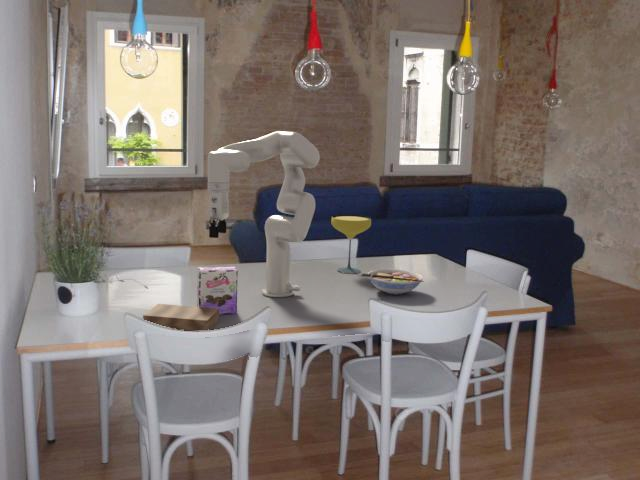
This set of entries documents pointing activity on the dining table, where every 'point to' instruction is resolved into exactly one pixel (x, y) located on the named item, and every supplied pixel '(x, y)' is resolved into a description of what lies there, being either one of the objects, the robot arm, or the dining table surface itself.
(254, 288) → the dining table surface
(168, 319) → the walnut base
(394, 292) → the ramen bowl
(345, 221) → the cocktail glass
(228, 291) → the candy box
